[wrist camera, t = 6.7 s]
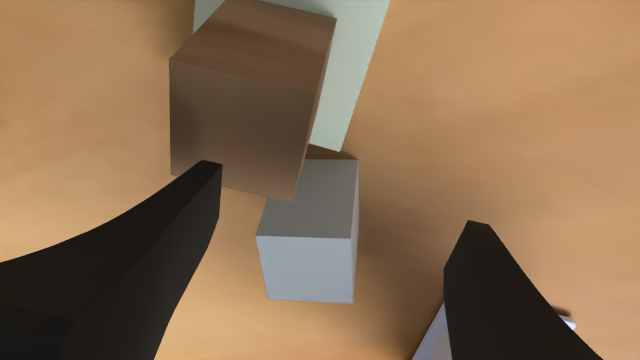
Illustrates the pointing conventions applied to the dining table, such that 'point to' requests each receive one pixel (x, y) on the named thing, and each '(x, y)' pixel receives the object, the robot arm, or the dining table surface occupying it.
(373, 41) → the sage slab
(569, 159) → the dining table surface
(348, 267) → the bluegrey post
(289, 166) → the walnut post
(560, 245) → the dining table surface
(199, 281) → the dining table surface
